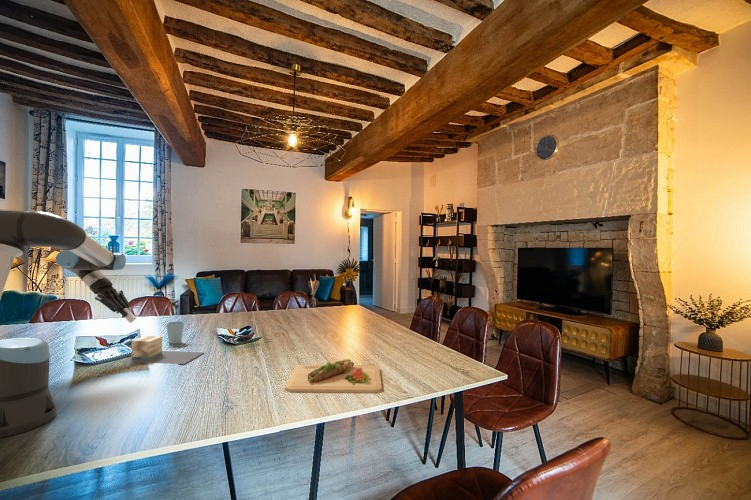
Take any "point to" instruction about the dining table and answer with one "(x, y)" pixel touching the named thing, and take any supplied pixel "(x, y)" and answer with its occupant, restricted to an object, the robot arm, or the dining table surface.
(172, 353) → the rubber mat
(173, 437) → the dining table surface
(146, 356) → the maple cube
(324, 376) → the cutting board
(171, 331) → the cup
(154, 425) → the dining table surface
